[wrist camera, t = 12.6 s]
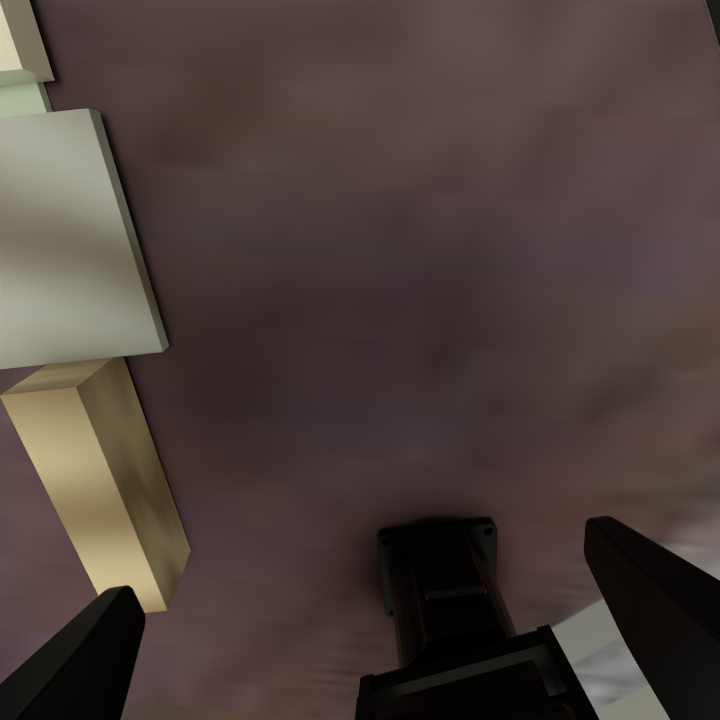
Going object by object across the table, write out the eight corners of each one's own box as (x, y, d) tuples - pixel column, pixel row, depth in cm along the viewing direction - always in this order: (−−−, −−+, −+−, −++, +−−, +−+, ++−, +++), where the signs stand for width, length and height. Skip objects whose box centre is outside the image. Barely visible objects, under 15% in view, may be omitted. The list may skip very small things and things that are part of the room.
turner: (228, 547, 23) (211, 605, 20) (102, 560, 23) (65, 621, 20) (98, 111, 15) (34, 93, 12) (-98, 131, 15) (-216, 120, 12)
